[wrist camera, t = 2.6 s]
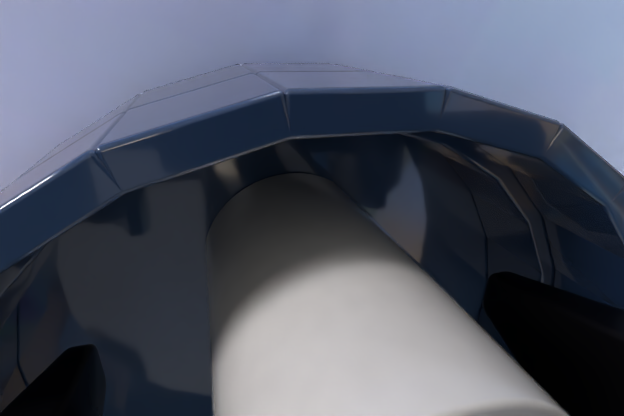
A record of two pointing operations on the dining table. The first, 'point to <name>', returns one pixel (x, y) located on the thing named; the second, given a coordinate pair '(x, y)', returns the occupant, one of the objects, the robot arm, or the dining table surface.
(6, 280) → the bowl
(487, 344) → the salt shaker
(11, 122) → the dining table surface
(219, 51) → the dining table surface
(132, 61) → the dining table surface
